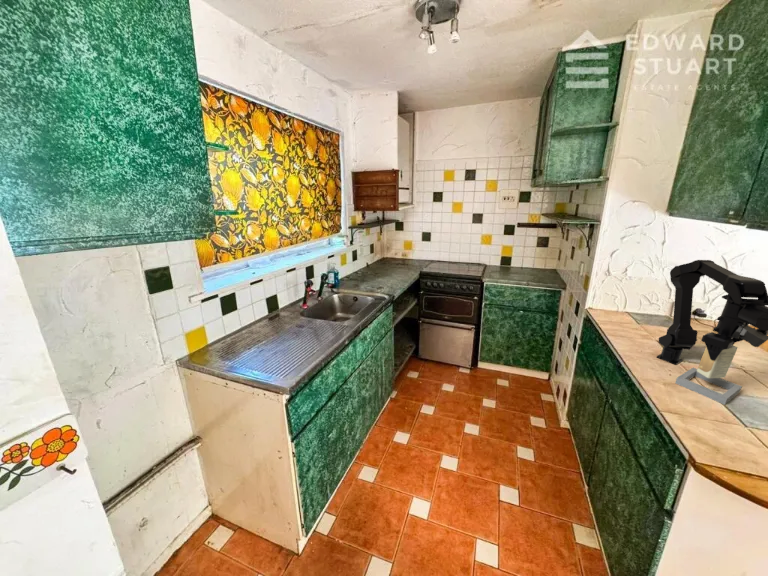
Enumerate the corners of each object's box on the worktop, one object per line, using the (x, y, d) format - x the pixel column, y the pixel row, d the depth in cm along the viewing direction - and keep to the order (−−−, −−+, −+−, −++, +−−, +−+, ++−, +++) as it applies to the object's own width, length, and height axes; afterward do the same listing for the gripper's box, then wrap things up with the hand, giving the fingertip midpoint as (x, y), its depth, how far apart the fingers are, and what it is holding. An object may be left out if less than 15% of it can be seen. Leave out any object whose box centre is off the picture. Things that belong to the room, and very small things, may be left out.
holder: (691, 372, 117) (693, 367, 116) (739, 392, 106) (742, 386, 105) (675, 383, 112) (677, 377, 111) (724, 404, 101) (727, 398, 100)
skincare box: (712, 370, 109) (725, 341, 105) (725, 378, 105) (739, 347, 101) (695, 371, 109) (707, 341, 105) (707, 378, 105) (720, 347, 101)
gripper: (760, 333, 89) (739, 377, 94) (782, 319, 96) (762, 361, 102) (708, 318, 98) (692, 359, 103) (732, 307, 106) (717, 346, 111)
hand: (717, 356), depth 105 cm, fingers closed on skincare box, 7 cm apart
